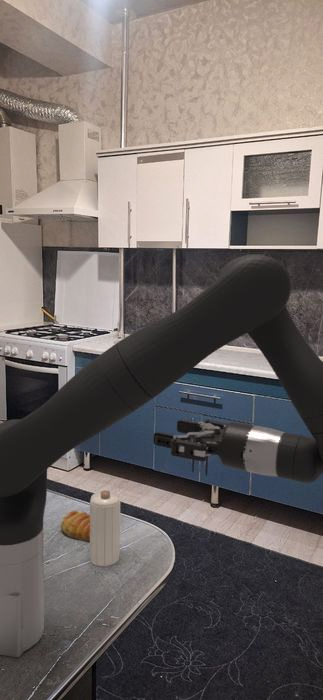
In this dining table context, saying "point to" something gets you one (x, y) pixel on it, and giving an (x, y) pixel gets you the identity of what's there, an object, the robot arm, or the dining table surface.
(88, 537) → the pastry
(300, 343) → the robot arm
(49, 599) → the dining table surface
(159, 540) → the dining table surface
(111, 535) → the ribbed lidded canister
